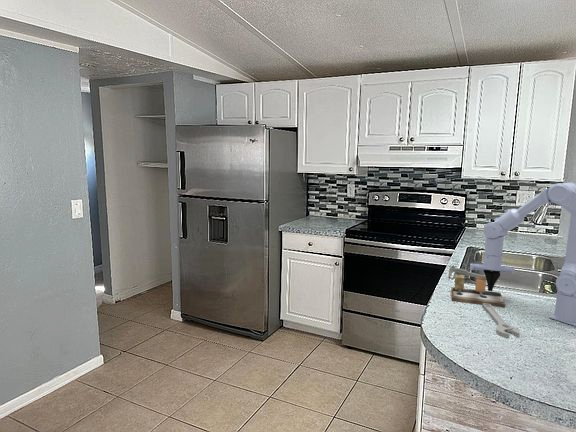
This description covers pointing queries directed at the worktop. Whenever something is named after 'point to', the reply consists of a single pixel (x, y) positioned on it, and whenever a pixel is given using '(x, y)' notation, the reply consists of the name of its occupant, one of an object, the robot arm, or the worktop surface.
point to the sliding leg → (480, 285)
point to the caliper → (464, 273)
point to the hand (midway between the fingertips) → (490, 290)
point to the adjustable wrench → (500, 322)
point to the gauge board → (474, 294)
